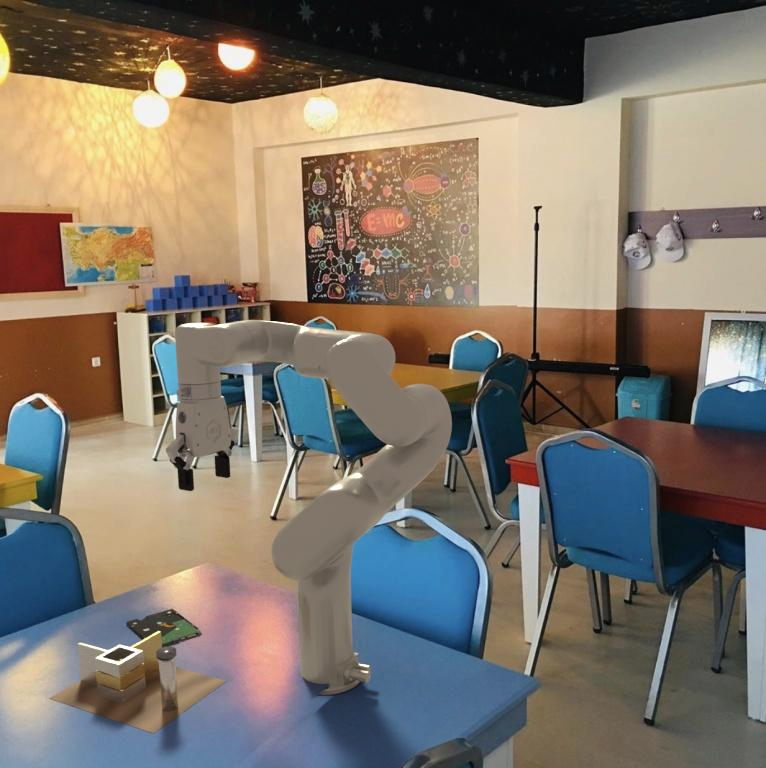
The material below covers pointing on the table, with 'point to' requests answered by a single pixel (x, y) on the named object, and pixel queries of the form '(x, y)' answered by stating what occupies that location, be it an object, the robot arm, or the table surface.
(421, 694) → the table surface
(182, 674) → the walnut board
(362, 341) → the robot arm
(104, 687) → the hinge
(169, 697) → the hinge pin
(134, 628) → the disk drive
